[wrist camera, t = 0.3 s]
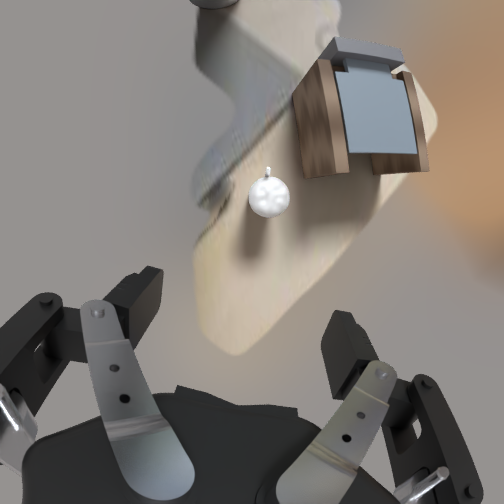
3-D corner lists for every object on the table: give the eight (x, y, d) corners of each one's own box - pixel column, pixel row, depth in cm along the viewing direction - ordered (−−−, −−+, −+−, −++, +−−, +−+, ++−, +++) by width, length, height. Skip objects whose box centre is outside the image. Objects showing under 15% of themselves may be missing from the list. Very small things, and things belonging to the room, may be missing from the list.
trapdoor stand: (292, 93, 35) (317, 59, 24) (369, 96, 36) (411, 72, 24) (304, 178, 38) (336, 173, 26) (381, 174, 39) (429, 171, 27)
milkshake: (274, 173, 37) (290, 166, 28) (278, 211, 39) (295, 216, 29) (241, 176, 37) (247, 169, 27) (245, 214, 38) (252, 221, 29)
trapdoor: (316, 58, 27) (332, 36, 22) (379, 65, 28) (401, 49, 22) (333, 157, 30) (356, 150, 24) (397, 156, 31) (425, 152, 25)
